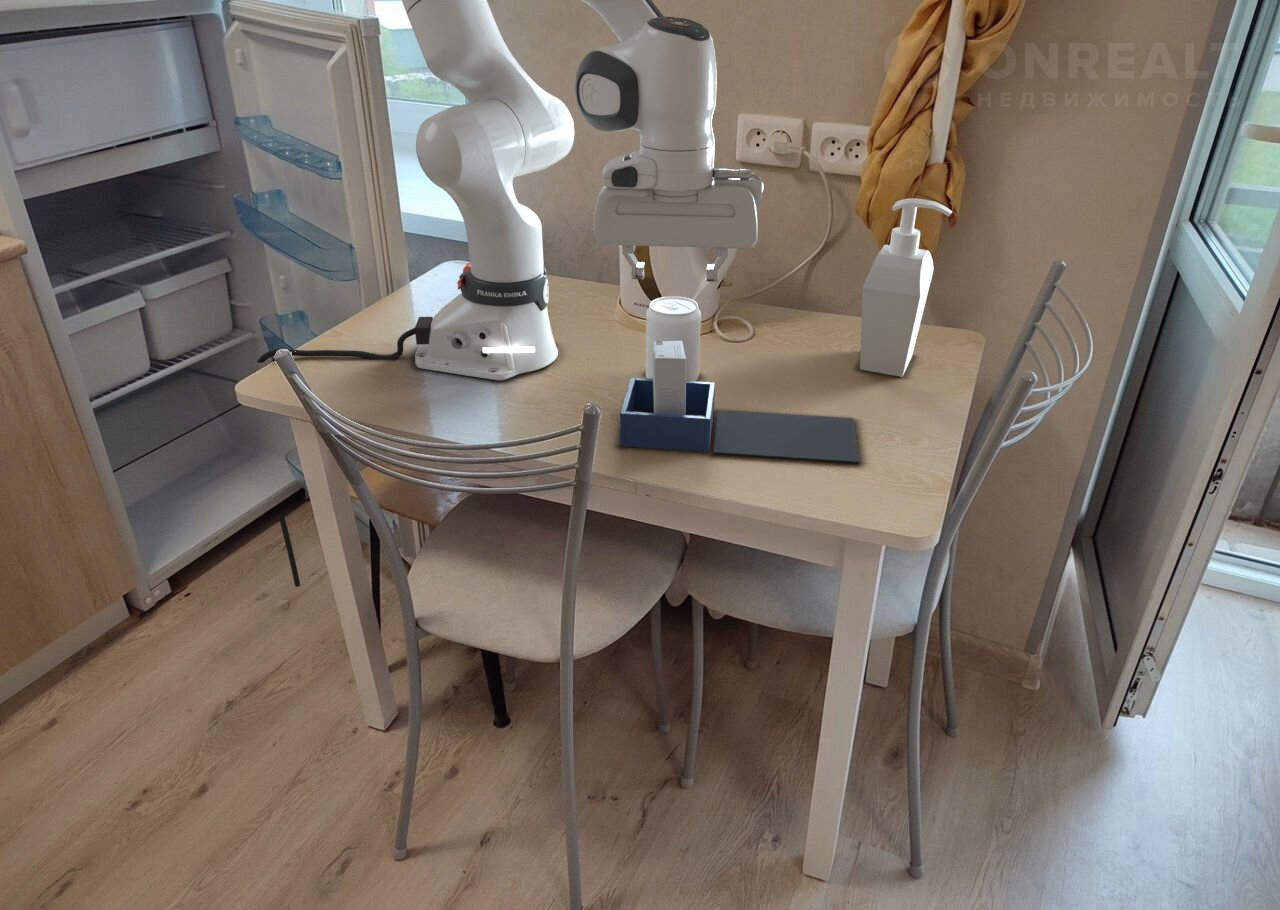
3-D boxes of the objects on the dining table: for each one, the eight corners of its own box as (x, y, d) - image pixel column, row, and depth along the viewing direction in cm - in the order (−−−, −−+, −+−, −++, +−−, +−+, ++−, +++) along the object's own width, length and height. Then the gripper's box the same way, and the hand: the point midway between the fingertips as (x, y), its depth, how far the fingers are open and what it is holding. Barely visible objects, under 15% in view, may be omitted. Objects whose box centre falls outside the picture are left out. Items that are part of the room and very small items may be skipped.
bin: (620, 446, 126) (619, 413, 123) (630, 408, 135) (630, 377, 132) (708, 452, 124) (710, 419, 122) (713, 413, 134) (715, 382, 131)
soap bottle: (917, 385, 142) (946, 216, 129) (851, 373, 145) (873, 207, 132) (930, 354, 152) (958, 194, 138) (868, 343, 155) (890, 186, 142)
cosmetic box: (686, 440, 127) (689, 358, 121) (653, 440, 127) (654, 359, 121) (683, 418, 132) (685, 339, 126) (651, 419, 132) (652, 339, 126)
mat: (712, 454, 124) (712, 452, 124) (717, 412, 134) (717, 409, 134) (859, 464, 122) (859, 461, 122) (852, 420, 132) (852, 418, 132)
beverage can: (664, 395, 139) (666, 319, 133) (635, 374, 145) (635, 301, 138) (709, 382, 142) (712, 308, 136) (679, 363, 148) (681, 291, 142)
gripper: (764, 163, 114) (757, 273, 121) (597, 160, 116) (600, 268, 123) (764, 176, 108) (757, 290, 115) (589, 172, 110) (592, 285, 117)
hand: (675, 279), depth 119 cm, fingers open, 8 cm apart
